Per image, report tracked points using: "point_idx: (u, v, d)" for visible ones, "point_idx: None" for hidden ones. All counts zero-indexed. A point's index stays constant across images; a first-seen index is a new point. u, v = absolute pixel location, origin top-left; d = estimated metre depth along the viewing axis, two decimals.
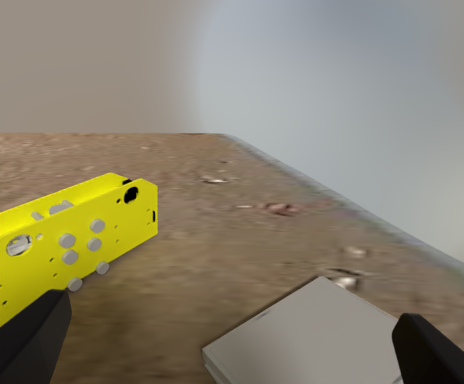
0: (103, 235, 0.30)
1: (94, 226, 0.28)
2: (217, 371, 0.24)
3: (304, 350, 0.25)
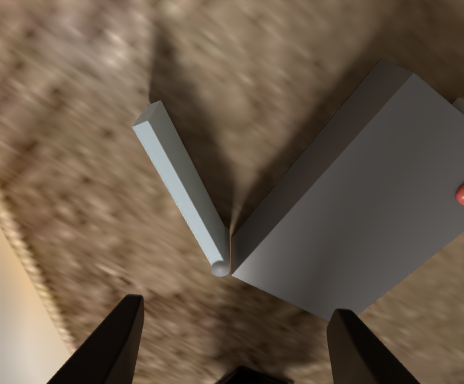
0: None
1: None
2: None
3: None
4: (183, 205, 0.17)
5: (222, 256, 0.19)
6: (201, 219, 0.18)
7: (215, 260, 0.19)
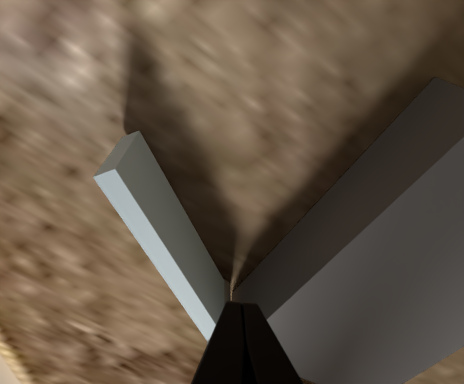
0: None
1: None
2: None
3: None
4: (169, 273, 0.13)
5: None
6: (194, 289, 0.13)
7: None
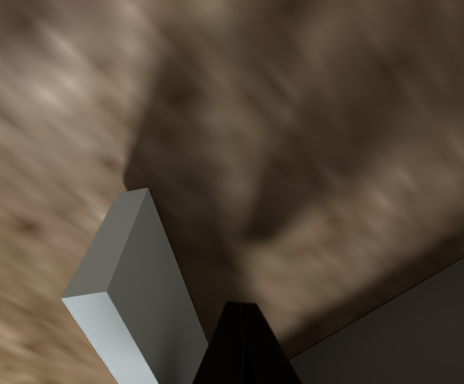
0: None
1: None
2: None
3: None
4: None
5: None
6: None
7: None
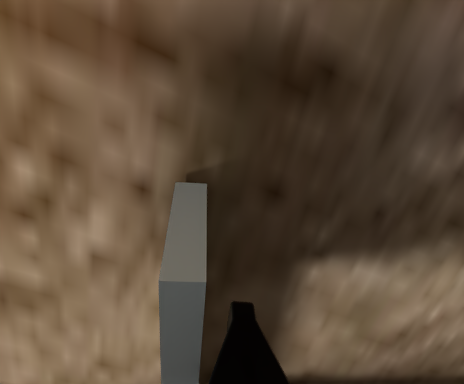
0: None
1: None
2: None
3: None
4: None
5: None
6: None
7: None
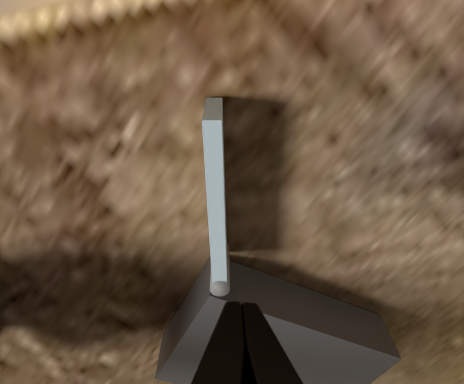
0: None
1: None
2: None
3: None
4: (214, 216, 0.16)
5: (226, 276, 0.18)
6: (225, 234, 0.16)
7: (218, 278, 0.18)
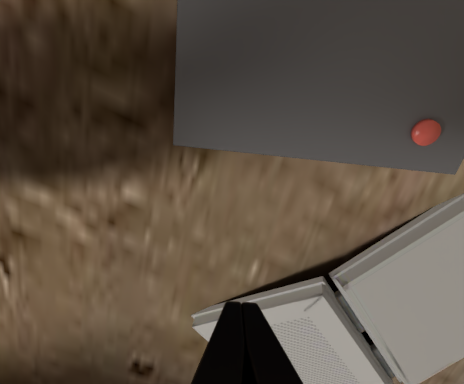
0: None
1: None
2: (458, 207, 0.21)
3: (445, 292, 0.23)
4: None
5: None
6: None
7: None
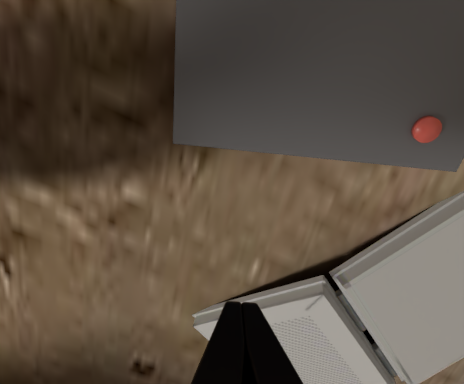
0: None
1: None
2: (459, 205, 0.21)
3: (446, 290, 0.23)
4: None
5: None
6: None
7: None
